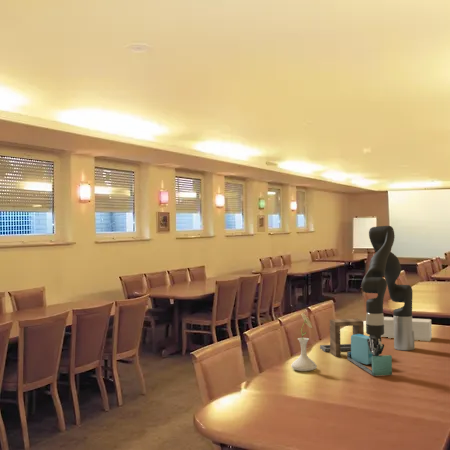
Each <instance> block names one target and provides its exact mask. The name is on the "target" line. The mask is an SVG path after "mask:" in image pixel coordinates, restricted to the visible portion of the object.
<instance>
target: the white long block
mask: <svg viewBox="0 0 450 450" xmlns="http://www.w3.org/2000/svg"><path fill="white" fill-rule="evenodd" d="M412 330H413V331H414V341H418V340H420V341H421V342H431V340H432V339H433V338H432V337H433V336H432V335H433V334H432V319H430V318H413V317H412ZM381 337H388V338H387V339H391V338H394V318H393V317H392V316H384V334H383V335H381ZM420 341H419V342H420Z"/></svg>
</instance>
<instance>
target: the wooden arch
mask: <svg viewBox="0 0 450 450" xmlns="http://www.w3.org/2000/svg"><path fill="white" fill-rule="evenodd" d="M348 326H349V327H350V326H351V327H352V335H355V334H362V335H365V333H364V330H365V329H364V327H365V325H364V320H362V319H360V318H342V319H341V318H337V319H333V318H332V319H329V345H330V352H329V353H330V355H332V356H333V357H336V358H341V357H342V355H341V354H342V351H341V346H340V344H341V327H348Z"/></svg>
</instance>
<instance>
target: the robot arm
mask: <svg viewBox="0 0 450 450" xmlns="http://www.w3.org/2000/svg"><path fill="white" fill-rule="evenodd" d="M394 230H395V229H394V228H393V226H392V225H381V226H379V225H378V226H373V227H370V228H369V230H368V238H369V242H370V243H371V246H372V248H373V250H374V252H375V253H374V254H373V256H372V257H371V259H370V261H369V265H368V270H367V272H366V273H365V275H364V276H363V278H362V281H361V283H360V284H361V290H362V292H364V293H365V294H377V296H376V297H373V298H368V299H367V300H366V301H365V304H366V305H365V307H366V311H365V313H366V314H365V330H366V331H365V332H366V334H367V335H368V336H369V339H367V342H368V346H369V349H370V352H372V354H373V356H380V355H383V354H382V353H383V351H384V348H385V344H384V343H382V338H381V335H383V334H384V317H385V316H384V299H385V294H386V292H387V289H388V294H389V298H390V300H391V301H392V302H394V303H404V304H403V306H402V307H398V308H395V309H393V318H394V339H393V348H394V349H395V350H398V351H413V350H415V348H416V347H415V340H414V331H413V330H412V318H413V287H412V286H411V285H410V284H397V283H396V281H397V279H398V278H399V277H400V275H401V273H402V266H401V262H400V259H399V257H397V255H396V254H394V253H393V252H392V248H393V245H394V242H395V236H396V235H395V231H394Z"/></svg>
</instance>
